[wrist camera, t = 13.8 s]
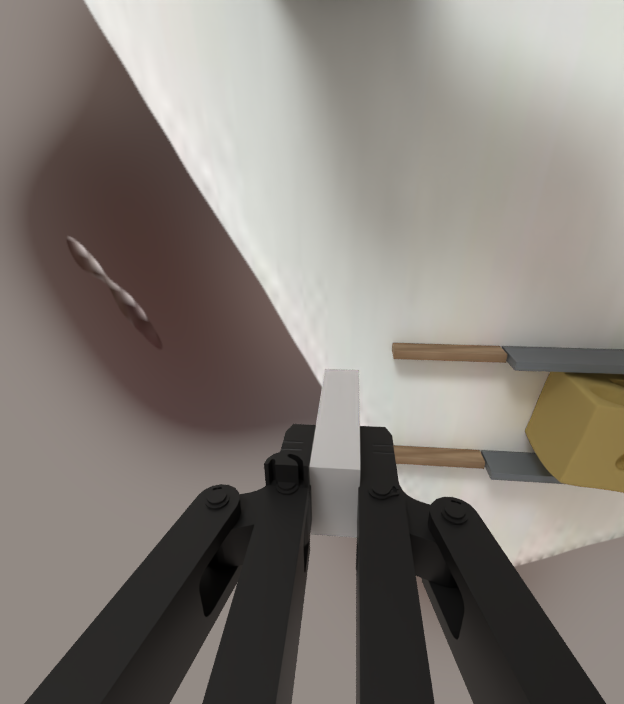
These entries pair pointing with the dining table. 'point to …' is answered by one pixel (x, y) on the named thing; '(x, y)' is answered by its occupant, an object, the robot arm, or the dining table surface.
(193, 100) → the dining table surface
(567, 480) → the cheese
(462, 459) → the lane rails
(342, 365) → the dining table surface
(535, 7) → the dining table surface
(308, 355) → the dining table surface
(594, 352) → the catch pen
